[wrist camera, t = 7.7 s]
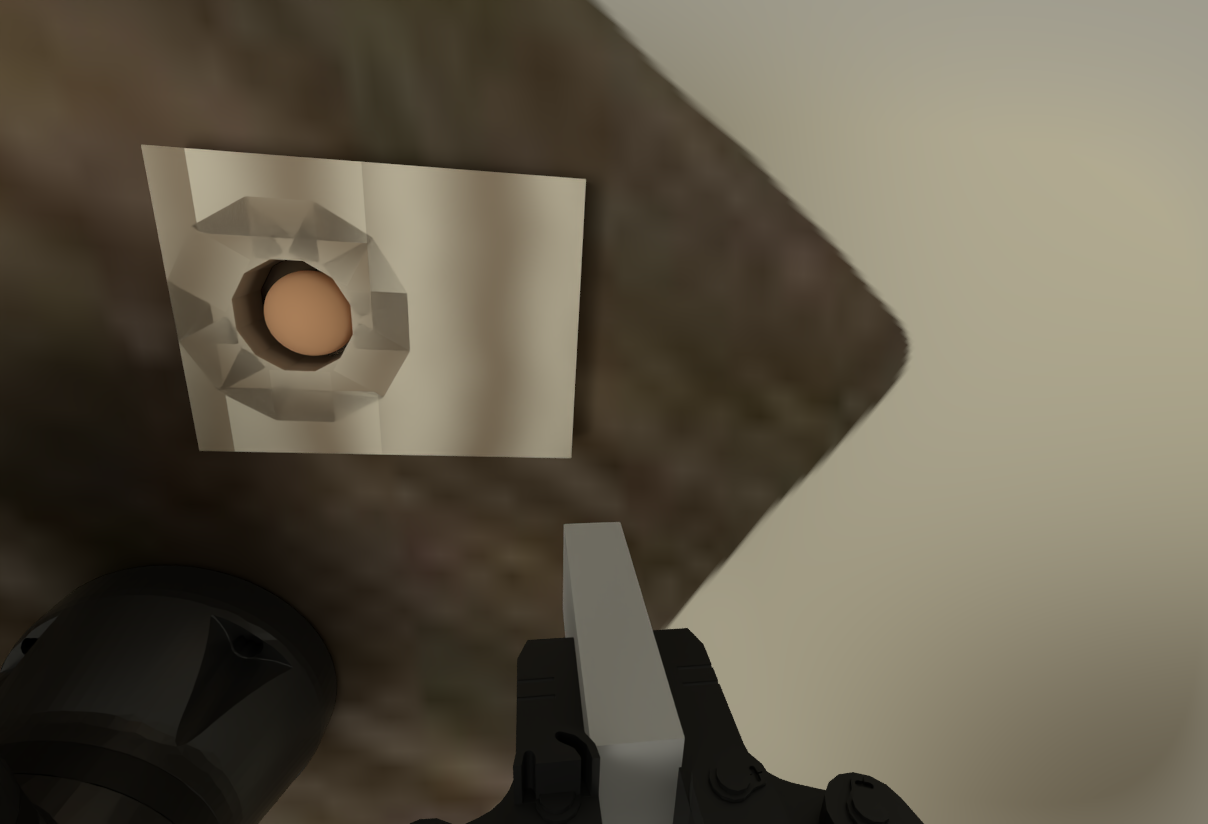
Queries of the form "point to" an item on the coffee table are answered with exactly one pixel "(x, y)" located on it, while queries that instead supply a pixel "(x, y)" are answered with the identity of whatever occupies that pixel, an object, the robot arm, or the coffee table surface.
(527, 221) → the block
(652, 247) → the coffee table surface
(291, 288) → the ball
